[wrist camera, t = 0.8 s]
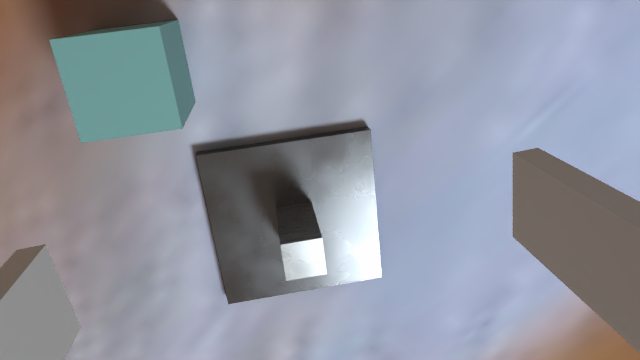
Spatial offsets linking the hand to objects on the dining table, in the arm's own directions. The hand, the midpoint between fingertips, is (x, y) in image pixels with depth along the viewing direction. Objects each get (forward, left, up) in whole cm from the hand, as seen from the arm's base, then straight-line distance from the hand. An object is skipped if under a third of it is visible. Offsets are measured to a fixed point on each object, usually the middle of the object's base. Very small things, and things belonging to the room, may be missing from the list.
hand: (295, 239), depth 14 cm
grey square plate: (+9, +1, -20) cm, 22 cm away
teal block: (-3, -7, -20) cm, 22 cm away
